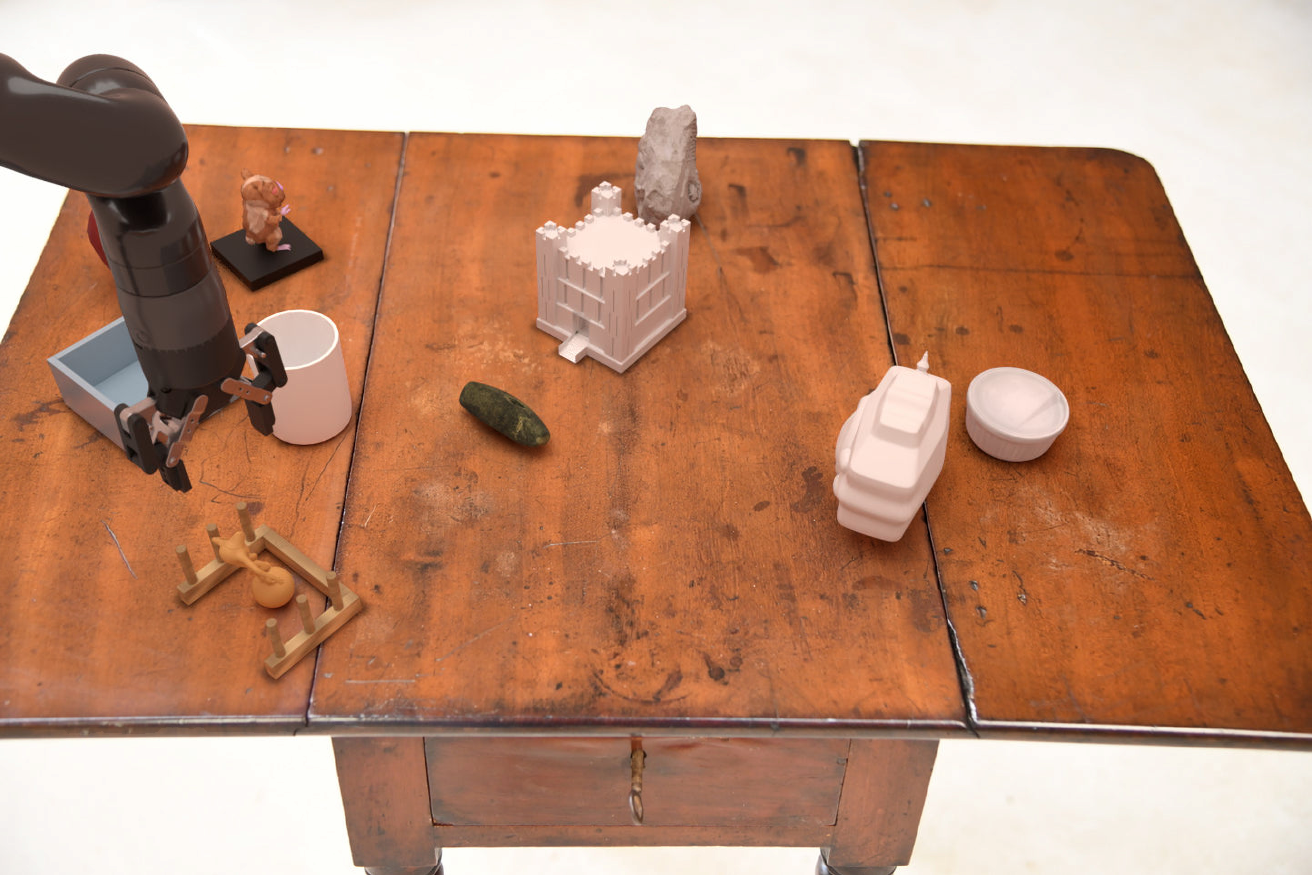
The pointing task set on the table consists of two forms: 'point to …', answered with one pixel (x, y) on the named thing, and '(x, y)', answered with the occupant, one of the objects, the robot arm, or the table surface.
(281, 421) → the mug
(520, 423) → the decorative stone
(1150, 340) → the table surface
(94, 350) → the light blue open box
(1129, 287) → the table surface
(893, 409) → the white tiered block
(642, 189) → the fossil
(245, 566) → the figurine
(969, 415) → the ramekin
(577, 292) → the castle model
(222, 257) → the figurine
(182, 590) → the drying rack
